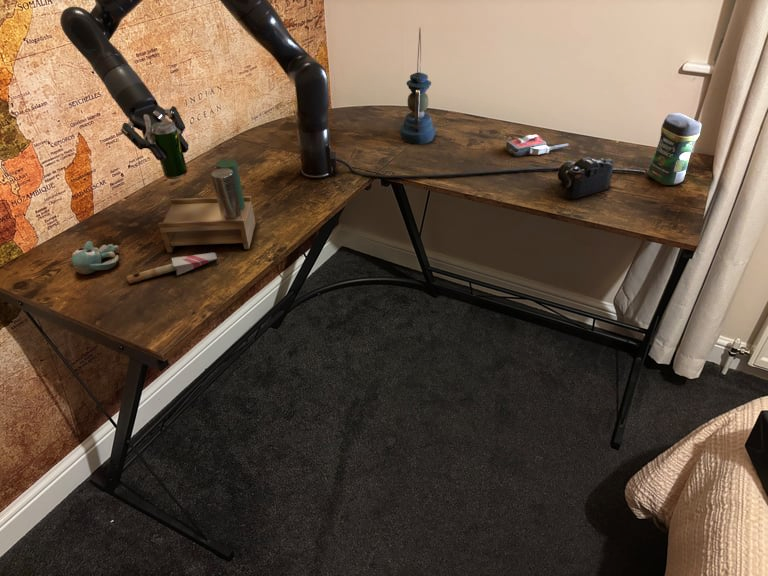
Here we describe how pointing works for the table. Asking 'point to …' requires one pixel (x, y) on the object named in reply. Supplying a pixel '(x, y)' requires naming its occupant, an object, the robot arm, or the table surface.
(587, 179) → the film camera
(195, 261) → the paintbrush
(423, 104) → the lantern
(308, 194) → the table surface
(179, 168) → the beer can
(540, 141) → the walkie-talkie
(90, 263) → the stuffed animal
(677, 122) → the coffee jar
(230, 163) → the tray
